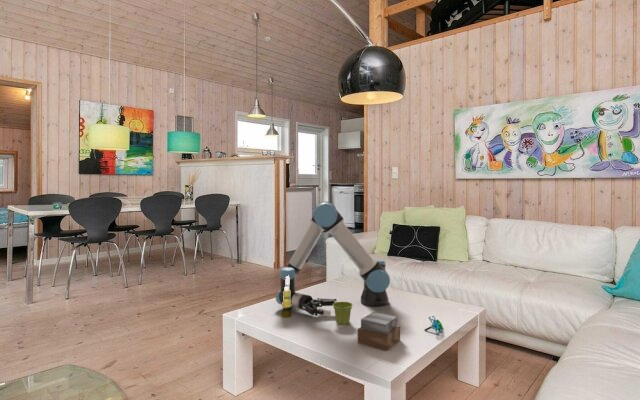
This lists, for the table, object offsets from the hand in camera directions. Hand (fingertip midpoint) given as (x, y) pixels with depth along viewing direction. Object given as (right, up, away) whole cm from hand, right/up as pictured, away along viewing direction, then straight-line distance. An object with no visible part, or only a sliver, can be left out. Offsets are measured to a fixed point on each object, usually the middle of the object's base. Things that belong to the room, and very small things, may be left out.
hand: (338, 309), depth 188 cm
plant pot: (+2, -6, 0) cm, 7 cm away
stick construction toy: (+42, -7, -11) cm, 44 cm away
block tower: (+16, -7, -22) cm, 28 cm away
